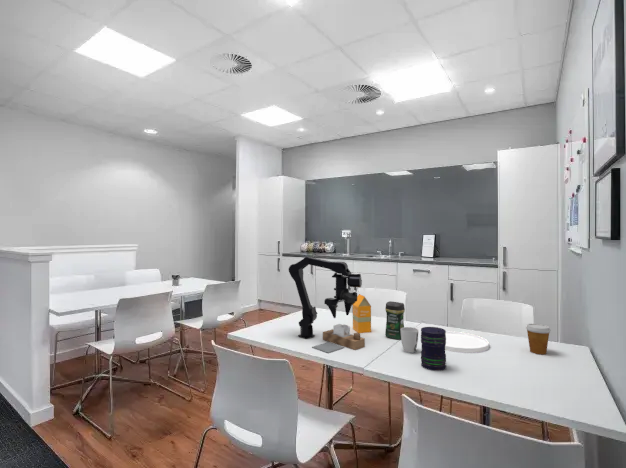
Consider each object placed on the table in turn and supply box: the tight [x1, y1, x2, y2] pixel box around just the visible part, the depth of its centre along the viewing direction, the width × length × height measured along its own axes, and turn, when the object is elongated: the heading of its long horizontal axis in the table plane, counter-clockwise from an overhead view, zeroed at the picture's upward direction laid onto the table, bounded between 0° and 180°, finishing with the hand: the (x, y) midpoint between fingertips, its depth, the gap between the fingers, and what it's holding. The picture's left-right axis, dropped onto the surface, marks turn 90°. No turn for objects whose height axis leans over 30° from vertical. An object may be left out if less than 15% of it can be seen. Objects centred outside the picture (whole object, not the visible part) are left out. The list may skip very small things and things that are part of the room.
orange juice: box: [352, 293, 372, 334], centre depth 198 cm, size 8×9×20 cm
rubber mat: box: [311, 341, 345, 354], centre depth 169 cm, size 11×11×1 cm
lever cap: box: [332, 323, 351, 336], centre depth 176 cm, size 7×4×5 cm, turn 42°
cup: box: [400, 326, 419, 354], centre depth 163 cm, size 8×8×10 cm
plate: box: [445, 330, 490, 354], centre depth 174 cm, size 28×28×2 cm
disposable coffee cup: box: [525, 323, 551, 355], centre depth 161 cm, size 10×10×12 cm
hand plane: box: [322, 328, 366, 351], centre depth 176 cm, size 22×7×6 cm, turn 42°
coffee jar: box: [384, 301, 405, 340], centre depth 185 cm, size 10×8×19 cm
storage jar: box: [420, 326, 447, 372], centre depth 145 cm, size 10×10×15 cm
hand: (341, 316), depth 181 cm, fingers open, 9 cm apart
